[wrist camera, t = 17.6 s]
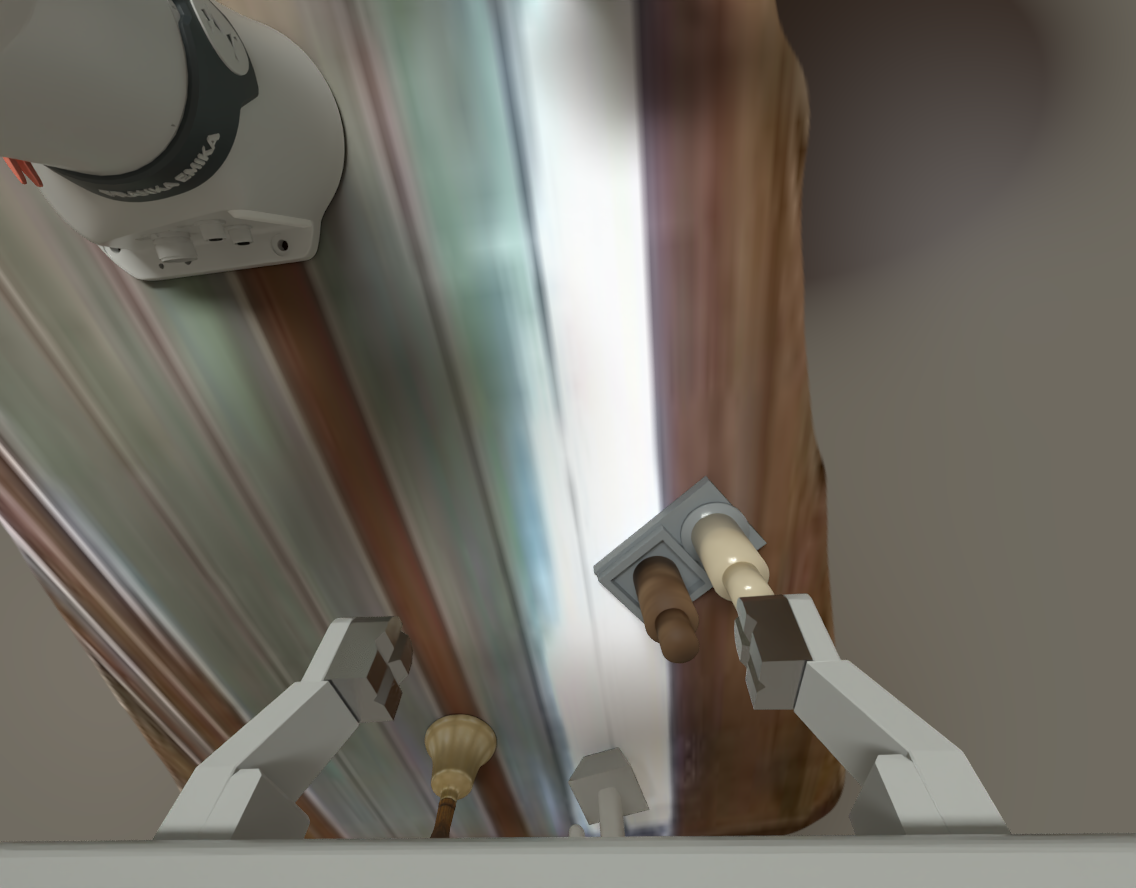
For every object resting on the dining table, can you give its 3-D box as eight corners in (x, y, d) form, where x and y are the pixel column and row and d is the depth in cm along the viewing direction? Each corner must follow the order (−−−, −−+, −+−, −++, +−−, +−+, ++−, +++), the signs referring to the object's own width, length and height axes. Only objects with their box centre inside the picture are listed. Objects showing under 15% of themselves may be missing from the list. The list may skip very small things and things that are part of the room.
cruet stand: (650, 619, 51) (674, 714, 40) (593, 566, 49) (601, 650, 38) (763, 535, 48) (823, 612, 37) (707, 474, 46) (753, 536, 35)
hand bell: (510, 750, 57) (490, 919, 42) (451, 776, 58) (412, 949, 43) (470, 702, 55) (434, 863, 40) (411, 731, 56) (353, 897, 41)
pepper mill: (640, 601, 49) (661, 677, 39) (626, 564, 48) (644, 634, 38) (684, 587, 49) (715, 661, 39) (671, 549, 47) (701, 616, 38)
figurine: (559, 753, 57) (557, 910, 43) (635, 732, 56) (659, 885, 42) (579, 795, 59) (583, 957, 45) (653, 775, 58) (681, 935, 44)
